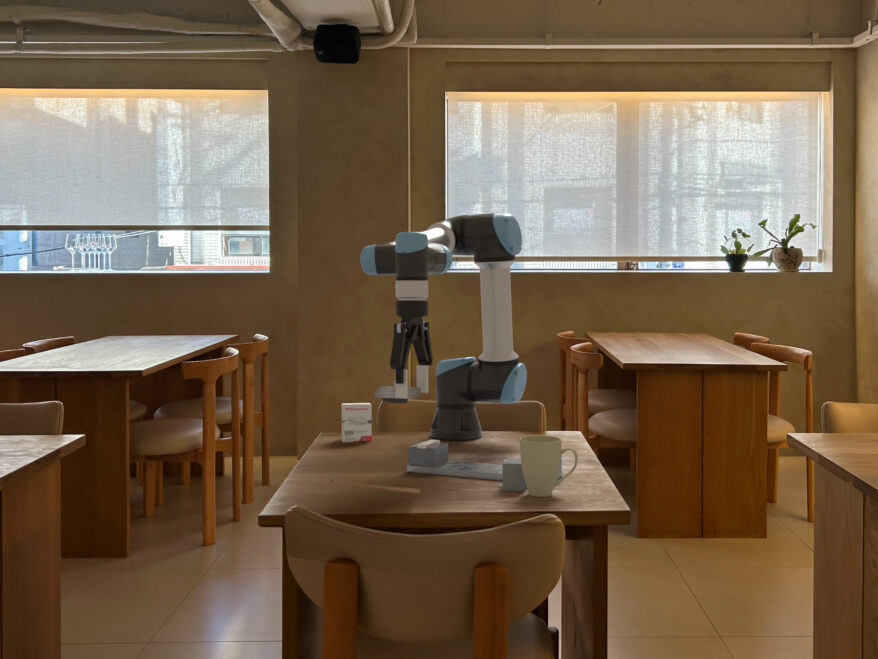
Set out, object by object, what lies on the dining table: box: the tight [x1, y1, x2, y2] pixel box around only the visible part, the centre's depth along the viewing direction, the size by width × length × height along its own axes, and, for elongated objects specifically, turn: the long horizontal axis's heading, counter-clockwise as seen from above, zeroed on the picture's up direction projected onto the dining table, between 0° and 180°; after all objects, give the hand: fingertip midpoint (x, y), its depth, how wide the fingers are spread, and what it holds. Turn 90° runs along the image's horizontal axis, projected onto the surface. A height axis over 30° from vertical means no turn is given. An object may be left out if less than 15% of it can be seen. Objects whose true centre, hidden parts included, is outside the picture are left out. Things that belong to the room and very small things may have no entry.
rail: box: [406, 439, 564, 481], centre depth 202 cm, size 10×36×7 cm, turn 66°
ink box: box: [341, 402, 373, 443], centre depth 243 cm, size 8×5×12 cm, turn 99°
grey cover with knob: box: [373, 380, 421, 404], centre depth 195 cm, size 10×10×5 cm
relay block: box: [501, 458, 527, 492], centre depth 187 cm, size 5×5×6 cm
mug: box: [519, 434, 579, 498], centre depth 181 cm, size 11×10×12 cm
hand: (412, 395), depth 195 cm, fingers closed on grey cover with knob, 10 cm apart
